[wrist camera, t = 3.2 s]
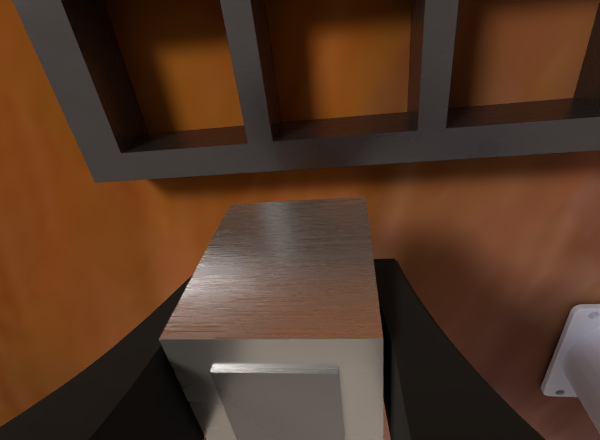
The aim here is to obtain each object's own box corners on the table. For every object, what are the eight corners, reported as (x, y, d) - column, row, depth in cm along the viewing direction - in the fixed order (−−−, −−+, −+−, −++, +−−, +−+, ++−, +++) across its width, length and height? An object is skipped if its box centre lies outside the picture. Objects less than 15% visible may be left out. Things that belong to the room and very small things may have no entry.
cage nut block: (365, 196, 10) (384, 343, 6) (368, 299, 12) (383, 464, 8) (230, 204, 11) (156, 344, 6) (254, 302, 13) (211, 456, 9)
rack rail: (701, -138, 11) (788, -171, 9) (611, 125, 15) (655, 146, 13) (48, -33, 14) (-5, -38, 12) (124, 160, 18) (95, 182, 16)
